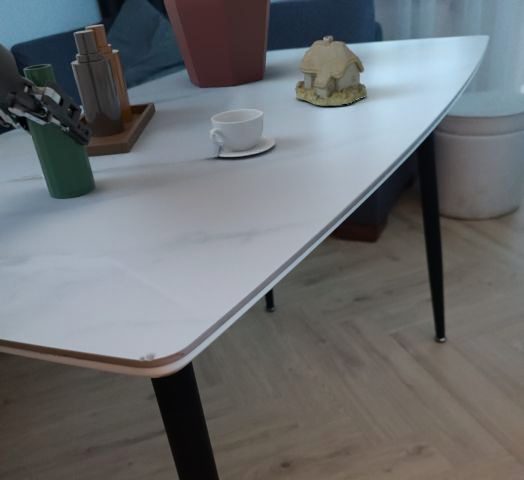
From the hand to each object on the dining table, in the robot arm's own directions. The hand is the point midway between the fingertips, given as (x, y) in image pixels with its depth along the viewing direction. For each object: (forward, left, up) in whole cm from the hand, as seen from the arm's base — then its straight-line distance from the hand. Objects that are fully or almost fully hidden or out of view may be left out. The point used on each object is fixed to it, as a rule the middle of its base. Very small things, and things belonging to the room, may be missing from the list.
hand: (67, 137), depth 76 cm
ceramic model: (+36, +35, -7) cm, 51 cm away
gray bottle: (-2, +24, -6) cm, 25 cm away
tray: (-2, +23, -6) cm, 24 cm away
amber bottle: (-2, +31, -6) cm, 32 cm away
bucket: (+16, +63, -7) cm, 66 cm away
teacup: (+21, +9, -7) cm, 24 cm away
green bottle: (-1, -2, -6) cm, 7 cm away
